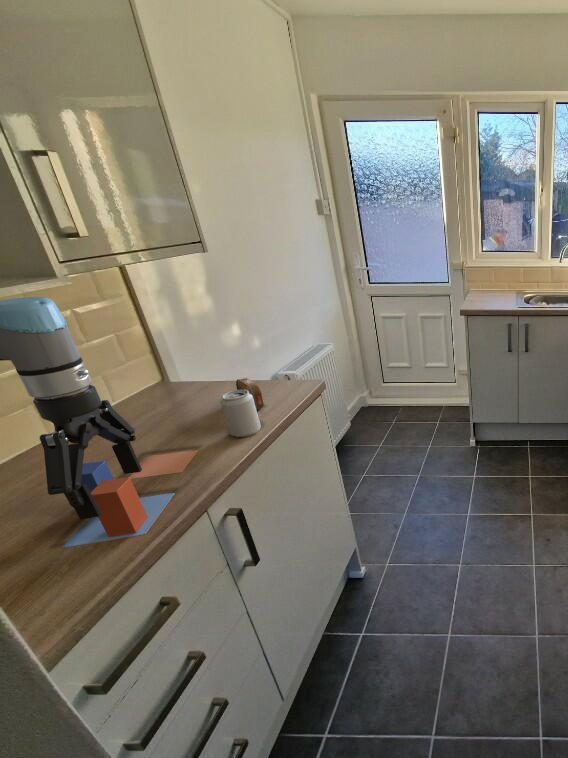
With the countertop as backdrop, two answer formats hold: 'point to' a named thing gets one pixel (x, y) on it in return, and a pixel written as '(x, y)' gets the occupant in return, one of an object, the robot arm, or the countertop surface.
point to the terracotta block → (119, 507)
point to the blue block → (95, 474)
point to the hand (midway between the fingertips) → (113, 492)
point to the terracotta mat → (164, 464)
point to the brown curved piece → (251, 391)
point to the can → (240, 413)
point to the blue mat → (97, 533)
